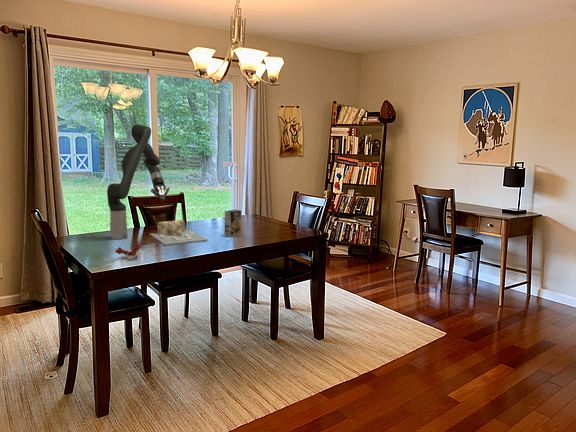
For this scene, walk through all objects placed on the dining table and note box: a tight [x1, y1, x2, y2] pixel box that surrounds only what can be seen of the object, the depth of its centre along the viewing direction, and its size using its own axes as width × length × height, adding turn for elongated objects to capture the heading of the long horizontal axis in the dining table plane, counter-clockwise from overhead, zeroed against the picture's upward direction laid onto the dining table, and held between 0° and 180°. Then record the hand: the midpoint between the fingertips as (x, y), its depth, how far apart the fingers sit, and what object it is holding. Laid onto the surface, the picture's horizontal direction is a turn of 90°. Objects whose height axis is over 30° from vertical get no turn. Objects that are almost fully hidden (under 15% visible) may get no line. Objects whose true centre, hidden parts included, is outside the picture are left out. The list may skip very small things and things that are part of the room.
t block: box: [156, 219, 186, 237], centre depth 284 cm, size 16×15×7 cm
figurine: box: [114, 243, 143, 260], centre depth 232 cm, size 15×12×7 cm
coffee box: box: [224, 209, 242, 238], centre depth 287 cm, size 9×6×16 cm
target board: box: [150, 229, 209, 247], centre depth 278 cm, size 26×32×2 cm
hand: (163, 200), depth 298 cm, fingers closed
